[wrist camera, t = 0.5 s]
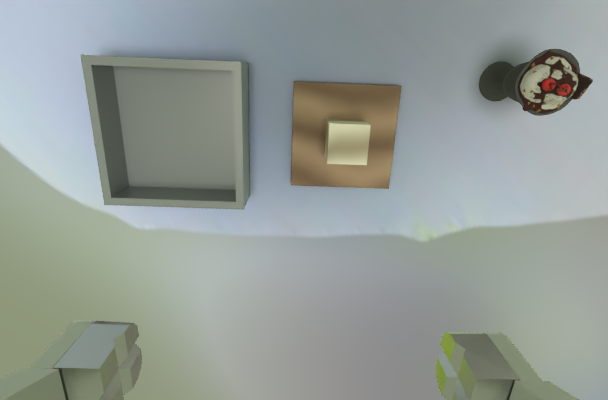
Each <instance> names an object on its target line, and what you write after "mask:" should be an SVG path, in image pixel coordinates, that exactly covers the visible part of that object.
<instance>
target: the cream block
mask: <svg viewBox="0 0 608 400" xmlns="http://www.w3.org/2000/svg"><path fill="white" fill-rule="evenodd" d="M370 128H371V125H370V124H369V123H367V122H366V121H365V120H352V119H327V120H326V137H325V154H324V156H325V159H326V162H327V164H346V165H367V157H368V147H369V137H370Z"/></svg>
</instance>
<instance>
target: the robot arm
mask: <svg viewBox="0 0 608 400" xmlns="http://www.w3.org/2000/svg"><path fill="white" fill-rule="evenodd" d="M138 337H139V333H138V327H137V325H136V324H134V323H124V322H123V323H122V322H104V321H78V320H77V321H75V322H72V323H70V324H69V326H67V327H66V329H65V330H64V331H63V332H62V333H61V334H60V335H59V336H58V337H57V338H56V339H55V340H54V341H53V342H52V343H51V345H50V346H49V347H48V348H47V349H46V350H45V351H44V352H43V353H42V354H41V355H40V356H39V357H38V358H37V359H36V361H35V362H34V363H33V364H32V365H31V366H30V367H29V368H21V369H19V370H17V371H15V372H13V373H11V374H9V375H7V376H5V377H3V378H1V379H0V400H124V397H123V395H125V394H126V393H127V392H129V391H130V390H132V389H133V388H134V386H135V384H136V381H137V380H138V377H139V373H140V370H141V364H142V354H141V349H140V348H139V347H138V346H137V345H136V344H135V341H136V340H137V338H138ZM441 346H442V348H443V350H444V352H443V353H442V354H441V355H440V356H439V357H438V358H437V364H436V378H437V382H438V386H439V389H440V391H441V394H442V396H443V397H444V398H445V399H447V400H579V399H577V398H575V397H574V396H572V395H570V394H569V393H567V392H566V391H564V390H562V389H561V388H559V387H557V386H556V385H554V384H552V383H551V382H549V381H542V379H541V378H540V377H539V376H538V375H537V373H536V372H535V371H534V369H533V368H532V367H531V366H530V364H529V363H528V362H527V361H526V359H525V358H524V357H523V356H522V354H521V353H520V352H519V351H518V349H517V348H516V347H515V346H514V344H513V343H512V342H511V341H510V339H509V338H508V337H507V336H506V335H505V334H503V333H459V332H445V333H444V335H443V336H442V340H441Z"/></svg>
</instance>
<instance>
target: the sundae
mask: <svg viewBox="0 0 608 400" xmlns="http://www.w3.org/2000/svg"><path fill="white" fill-rule="evenodd" d="M592 82H593V81H592V79H591V78H589V77H586V76H584V75H582V74H580V68H579V63H578V61H577V60H576V58H575V57H574V56H573V55H572V54H571V53H568V52H566V51H564V50H560V49H549V50H545V51H543V52H541V53H539V54H538V55H536V56H535V57H534V58H533V59H532V60H531V61H530V62H526V63H523V64H520V65H518V66H516V67H513V66H512V65H511V64H509V63H507V62H496V63H494V64H492V65H490V66H489V67H488V68H487V69H486V70H485V71H484V72H483V74H482V76H481V79H480V91H481V93H482V95H483V96H484V97H485V98H486V99H488V100H491V101H500V100H502V99H504V98H506V97H509V98H511V99H513V100H515V101H517V102H520V104H521V105H522V106H523V110H524V111H528V112H529V113H531V114H534V115H539V116H540V115H548V114H551V113H554V112H556V111H558V110H560V109H562V108H563V107H565V106H566V105H567V104H568V103H569V102H570V101H571V100H572V99H579V98H580V97H581V96H582V95H583V93H584V92H585V91H586V90H587V88H588V87H589V85H590V84H591V83H592Z"/></svg>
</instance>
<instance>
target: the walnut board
mask: <svg viewBox="0 0 608 400" xmlns="http://www.w3.org/2000/svg"><path fill="white" fill-rule="evenodd" d="M400 94H401V86H389V85H364V84H340V83H316V82H294V100H293V135H292V170H291V185H300V186H329V187H358V188H386V189H389V182H390V174H391V166H392V158H393V150H394V142H395V134H396V126H397V118H398V110H399V102H400ZM327 119H352V120H365V121H366V122H367V123H369V124H370V125H371V128H370V137H369V147H368V157H367V165H346V164H327V162H326V159H325V156H324V154H325V137H326V120H327Z"/></svg>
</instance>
